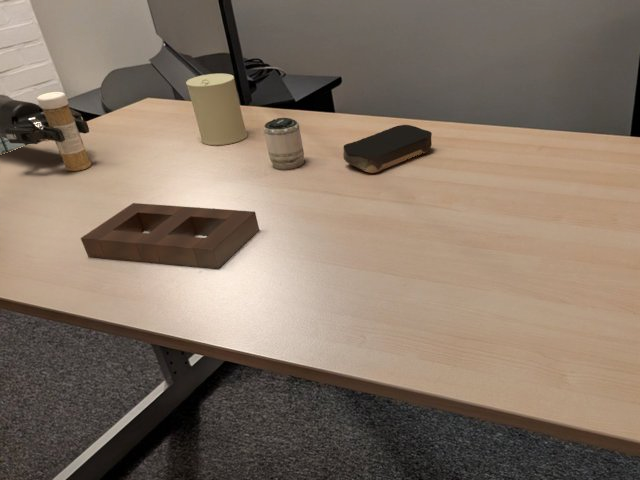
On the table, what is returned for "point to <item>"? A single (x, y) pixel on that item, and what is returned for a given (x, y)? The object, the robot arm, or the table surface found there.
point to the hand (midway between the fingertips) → (73, 131)
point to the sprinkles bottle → (65, 130)
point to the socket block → (172, 235)
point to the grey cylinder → (284, 143)
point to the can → (217, 109)
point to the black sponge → (387, 148)
